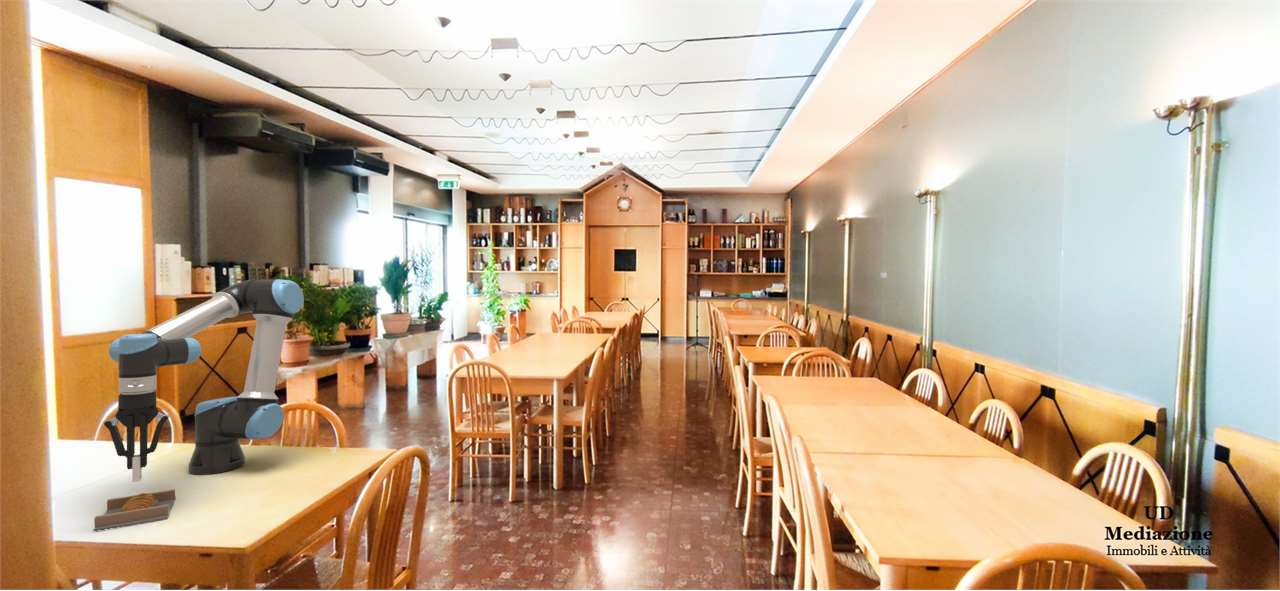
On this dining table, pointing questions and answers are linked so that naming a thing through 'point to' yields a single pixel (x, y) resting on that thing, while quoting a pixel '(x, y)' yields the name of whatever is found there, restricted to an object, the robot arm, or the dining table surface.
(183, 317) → the robot arm
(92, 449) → the dining table surface
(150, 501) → the pastry
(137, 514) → the pastry holder
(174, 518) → the dining table surface
